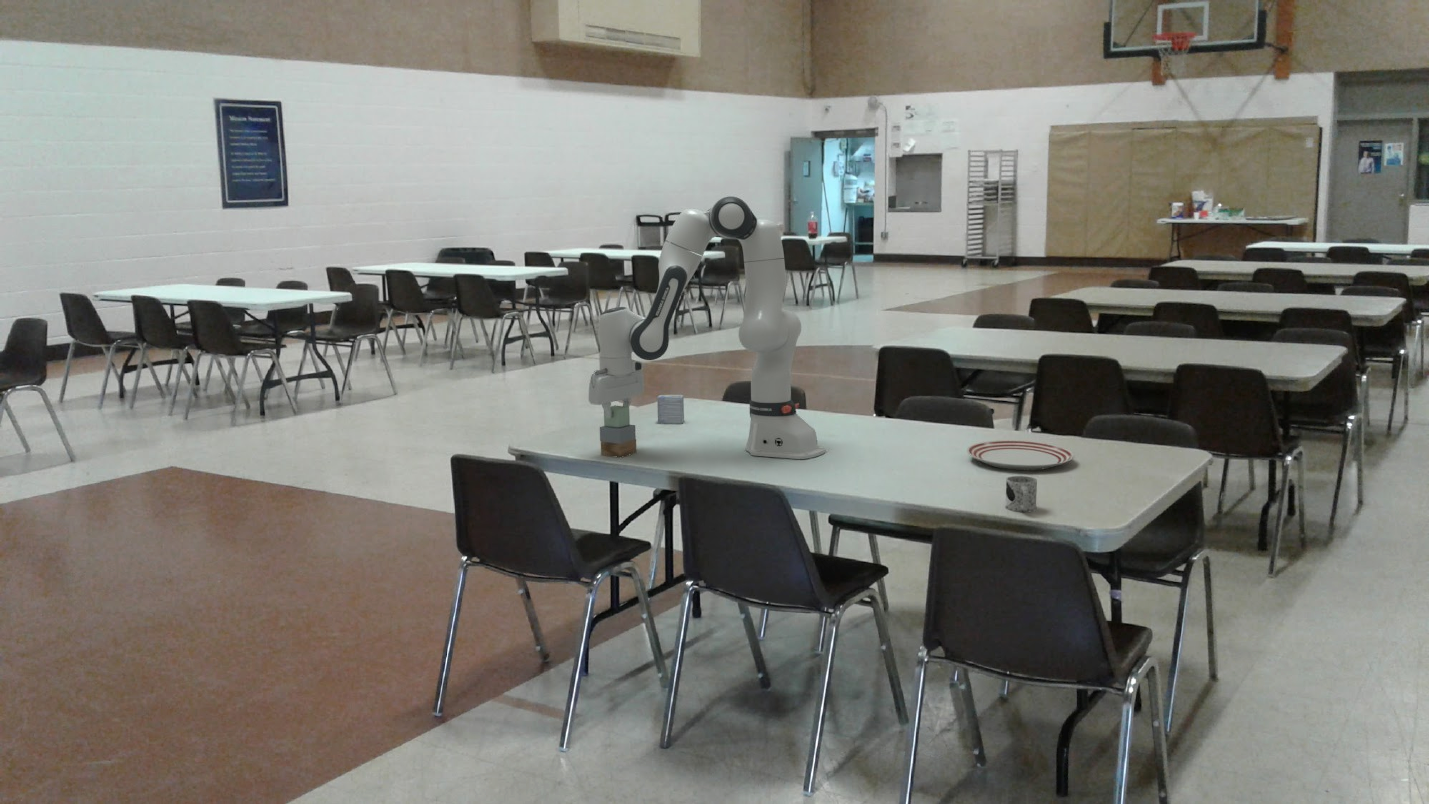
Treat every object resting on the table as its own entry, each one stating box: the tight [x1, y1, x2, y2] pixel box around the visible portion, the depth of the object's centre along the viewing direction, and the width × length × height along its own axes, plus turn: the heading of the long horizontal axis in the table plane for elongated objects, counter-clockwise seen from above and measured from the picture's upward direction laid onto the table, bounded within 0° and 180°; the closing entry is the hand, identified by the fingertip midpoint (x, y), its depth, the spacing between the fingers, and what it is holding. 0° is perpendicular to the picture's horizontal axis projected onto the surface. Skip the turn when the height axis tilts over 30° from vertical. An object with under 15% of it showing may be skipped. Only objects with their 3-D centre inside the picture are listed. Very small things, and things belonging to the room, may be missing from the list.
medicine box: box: [656, 394, 685, 425], centre depth 366 cm, size 8×4×9 cm, turn 84°
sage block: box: [603, 404, 631, 428], centre depth 321 cm, size 5×5×5 cm
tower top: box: [599, 424, 637, 444], centre depth 321 cm, size 7×7×4 cm
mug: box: [1005, 475, 1038, 513], centre depth 259 cm, size 10×7×7 cm, turn 175°
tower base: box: [600, 439, 637, 458], centre depth 322 cm, size 7×7×4 cm
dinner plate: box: [966, 439, 1075, 471], centre depth 306 cm, size 28×27×3 cm
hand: (617, 416), depth 321 cm, fingers open, 5 cm apart
